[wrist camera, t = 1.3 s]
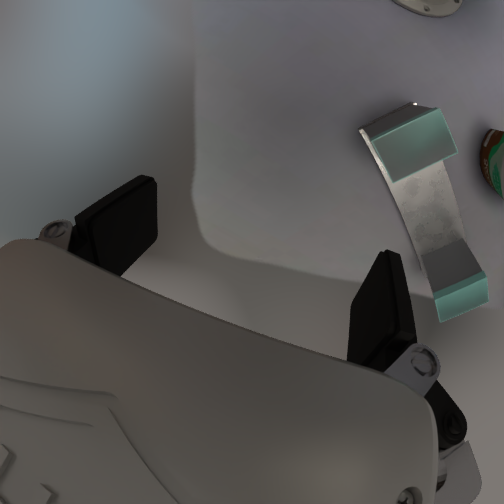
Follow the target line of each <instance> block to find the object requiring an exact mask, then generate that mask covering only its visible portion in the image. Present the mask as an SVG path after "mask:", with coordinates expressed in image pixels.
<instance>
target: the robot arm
mask: <svg viewBox="0 0 504 504" xmlns="http://www.w3.org/2000/svg"><path fill="white" fill-rule="evenodd" d="M393 1H394V2H396V3H397V4H399V5H401V6H402V7H404V8H406V9H408V10H410V11H412V12H415V13H418V14H421V15H424V16H429V17H445V16H448V15H451V14H453V13H454V12H456V11H457V10H458V9H459V8H460V6H461V4H462V1H463V0H393ZM424 9H425V10H426V11H427V12H426V11H425V10H424ZM75 222H76V225H75V226H74V227H73V225H72V223H71V222H70V221H68V220H64V219H62V220H56V221H53V222H50V223H49V224H47V225H46V226H45V227H44V228H43V229H42V230H41V232H40V235H39V237H38V238H36V239H18V240H13V241H11V242H9V243H7V244H5V245H4V246H3V247H1V248H0V504H470V503H472V502H473V500H475V499H476V497H477V495H478V494H479V492H480V489H481V485H482V481H481V476H480V473H479V470H478V466H477V463H476V460H475V458H474V455H473V452H472V449H471V447H470V444H469V441H466V442H465V441H464V438H465V435H466V432H467V422H466V419H465V416H464V415H463V413H462V411H461V410H460V409H459V407H458V406H457V405H456V403H455V402H454V401H453V400H452V398H451V397H450V396H449V394H448V393H447V392H446V391H445V389H444V388H443V387H442V386H441V384H440V383H439V382H438V381H437V378H438V376H439V373H440V367H441V366H440V362H439V359H438V357H437V355H436V354H435V352H434V351H433V350H432V349H431V348H429V347H428V346H426V345H424V344H420V343H417V336H416V329H415V323H414V316H413V310H412V305H411V300H410V295H409V291H408V286H407V282H406V277H405V273H404V268H403V264H402V260H401V256H400V254H398V253H395V252H393V251H390V250H385V251H384V252H382V251H381V252H380V253H379V254H378V256H377V258H376V260H375V262H374V264H373V265H372V267H371V269H370V271H369V273H368V275H367V277H366V278H365V280H364V282H363V284H362V286H361V287H360V289H359V291H358V293H357V294H356V296H355V298H354V299H353V301H352V304H351V309H350V327H349V340H348V352H347V361H345V360H342V359H339V358H336V357H332V356H329V355H325V354H322V353H319V352H315V351H312V350H309V349H306V348H303V347H299V346H297V345H293V344H291V343H287V342H284V341H281V340H278V339H275V338H272V337H269V336H266V335H264V334H260V333H257V332H255V331H252V330H249V329H246V328H244V327H241V326H238V325H236V324H233V323H230V322H227V321H225V320H222V319H219V318H217V317H214V316H212V315H209V314H207V313H204V312H201V311H199V310H196V309H194V308H191V307H188V306H186V305H184V304H182V303H179V302H177V301H174V300H172V299H170V298H167V297H164V296H162V295H160V294H158V293H155V292H153V291H151V290H148V289H146V288H144V287H142V286H140V285H137V284H135V283H133V282H131V281H128V280H126V279H124V278H122V277H120V276H121V275H122V274H123V273H124V272H125V271H126V270H127V269H128V268H129V267H130V266H131V265H132V264H133V263H134V262H135V261H136V260H137V259H138V258H139V257H140V256H141V255H142V254H143V253H144V252H145V251H146V250H147V249H148V248H149V247H150V246H151V245H152V244H153V243H154V242H155V241H156V239H157V236H158V229H157V183H156V182H155V180H154V178H153V177H149V176H145V175H139V176H137V177H136V178H134V179H132V180H131V181H129V182H127V183H126V184H124V185H122V186H121V187H119V188H117V189H116V190H114V191H112V192H111V193H110V194H108V195H106V196H105V197H103V198H102V199H100V200H98V201H97V202H96V203H94V204H92V205H91V206H89V207H88V208H86V209H85V210H84V211H82V212H81V213H79V214H78V215H76V216H75Z"/></svg>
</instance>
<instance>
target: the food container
mask: <svg viewBox="0 0 504 504" xmlns="http://www.w3.org/2000/svg"><path fill="white" fill-rule="evenodd" d="M480 166H481V170H482V173H483V176H484V178H485V179H486V181H487V182H488V183H489V184H490V185H491V187H492V188H493V189H494V190H495V191H496V192H497V193H498V194H499V195H500V196H501V197H502V198H503V199H504V132H503V131H499V130H494V129H490V130H489V131H488V133H487V134H486V135H485V138H484V140H483V142H482V145H481V150H480Z"/></svg>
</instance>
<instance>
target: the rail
mask: <svg viewBox="0 0 504 504" xmlns="http://www.w3.org/2000/svg"><path fill="white" fill-rule="evenodd" d="M412 104H413V105H417V104H416V103H413V102H411V103H409V104H407V105H405V106H402V107H400V108H398V109H396V110H394V111H392V112H390V113H388V114H386V115H384V116H382V117H380V118H378V119H376V120H374V121H372V122H370V123H368V124H366V125H364V126H362V127H360V128H358V130H359V131H360V133H361V135H362V137H363V138H364V140H365V142H366V144H367V145H368V147H369V149H370V151H371V153H372V155H373V156H374V158H375V160H376V162H377V164H378V166H379V168H380V170H381V172H382V174H383V176H384V178H385V180H386V182H387V184H388V186H389V188H390V190H391V193H392V195H393V197H394V199H395V201H396V204H397V206H398V208H399V210H400V213H401V215H402V218H403V220H404V222H405V225H406V227H407V230H408V232H409V235H410V238H411V240H412V243H413V246H414V248H415V251H416V254H417V257H418V260H419V263H420V266H421V269H422V272H423V275H424V278H427V273H426V270H425V267H424V264H423V261H422V258H421V257H422V256H424V255H426V254H428V253H431V252H433V251H435V250H438V249H440V248H442V247H444V246H446V245H449V244H451V243H453V242H455V241H457V240H459V239H461V238H463V239H464V241H465V242H466V244H467V241H466V237H465V232H464V228H463V224H462V220H461V216H460V213H459V209H458V205H457V202H456V199H455V195H454V192H453V189H452V186H451V183H450V180H449V177H448V175H447V172H446V169H445V166H444V164H443V161H440V162H438V163H436V164H434V165H431V166H429V167H427V168H425V169H423V170H421V171H419V172H417V173H415V174H413V175H410V176H408V177H406V178H404V179H402V180H400V181H398V182H396V183H394V184H393V183H392V181H391V180H390V178H389V176H388V173H387V171H386V169H385V167H384V166H383V164H382V162H381V161H380V159H379V157H378V155H377V153H376V151H375V150H374V148H373V146H372V144H371V142H370V141H369V139H368V137H367V135H366V133H365V132H364V130H363V128H365V127H367V126H369V125H371V124H373V123H375V122H377V121H379V120H381V119H383V118H385V117H387V116H389V115H391V114H394V113H396V112H398V111H400V110H402V109H404V108H406V107H408V106H410V105H412Z"/></svg>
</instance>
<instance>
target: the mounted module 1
mask: <svg viewBox="0 0 504 504" xmlns="http://www.w3.org/2000/svg"><path fill="white" fill-rule="evenodd" d="M363 130H364V132H365V133H366V135H367V137H368V139H369V141H370V142H371V144H372V146H373V148H374V150H375V151H376V153H377V155H378V157H379V159H380V161H381V162H382V164H383V166H384V167H385V169H386V171H387V173H388V176H389V178H390V180H391V181H392V183H393V184H394V183H396V182H398V181H400V180H402V179H404V178H406V177H408V176H410V175H413V174H415V173H417V172H419V171H421V170H423V169H425V168H427V167H429V166H431V165H434V164H436V163H438V162H440V161H442V160H444V159H446V158H448V157H450V156H452V155H455V154H457V153H458V150H457V148H456V145H455V143H454V140H453V137H452V135H451V133H450V130H449V128H448V126H447V123H446V121H445V119H444V117H443V114H442V112H441V110H440V108H436V107H435V108H429V107H424V106H418V105H413V104H412V105H410V106H408V107H406V108H404V109H402V110H400V111H398V112H396V113H394V114H391V115H389V116H387V117H385V118H383V119H381V120H379V121H377V122H375V123H373V124H371V125H369V126H367V127H365V128H363Z"/></svg>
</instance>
